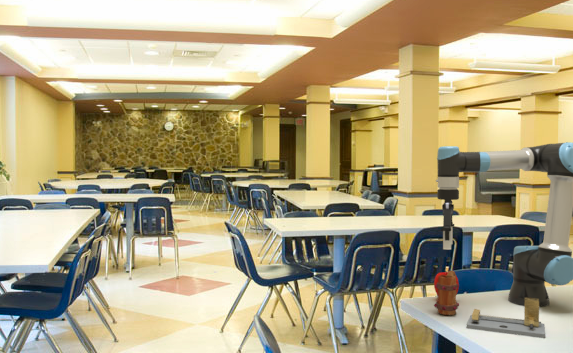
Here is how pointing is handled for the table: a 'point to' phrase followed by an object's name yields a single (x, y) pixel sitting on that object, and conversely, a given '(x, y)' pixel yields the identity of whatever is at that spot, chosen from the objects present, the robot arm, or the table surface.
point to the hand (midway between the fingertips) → (447, 246)
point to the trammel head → (531, 312)
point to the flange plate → (506, 327)
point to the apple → (437, 281)
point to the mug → (447, 294)
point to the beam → (494, 318)
